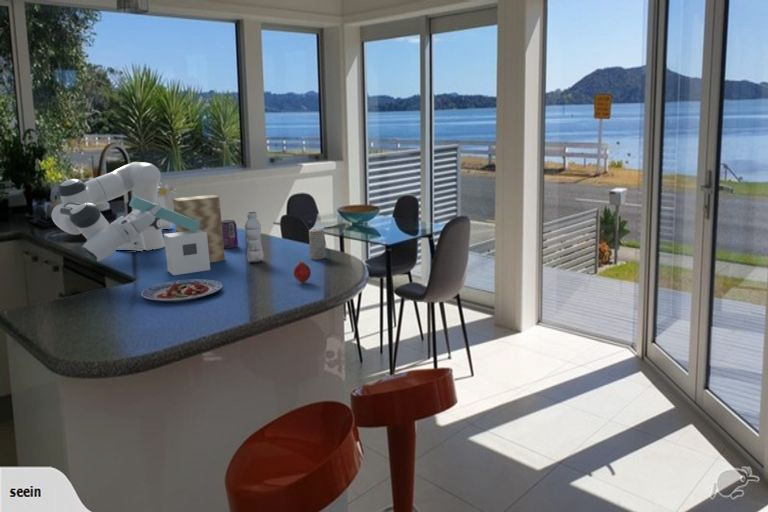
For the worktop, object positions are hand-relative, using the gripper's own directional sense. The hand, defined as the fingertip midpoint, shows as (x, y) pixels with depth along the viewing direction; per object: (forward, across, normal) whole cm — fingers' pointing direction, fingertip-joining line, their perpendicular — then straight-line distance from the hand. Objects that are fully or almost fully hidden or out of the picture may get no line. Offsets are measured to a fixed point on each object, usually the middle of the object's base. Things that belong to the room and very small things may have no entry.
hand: (157, 205), depth 245 cm
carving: (+36, +13, -52) cm, 64 cm away
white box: (-6, 0, -27) cm, 28 cm away
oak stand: (+2, -14, -32) cm, 35 cm away
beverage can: (+18, -35, -41) cm, 57 cm away
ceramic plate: (-15, +34, -22) cm, 44 cm away
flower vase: (+7, -109, -35) cm, 114 cm away
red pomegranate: (+18, +46, -41) cm, 64 cm away
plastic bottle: (+17, +2, -40) cm, 44 cm away
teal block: (-1, -1, -5) cm, 6 cm away
